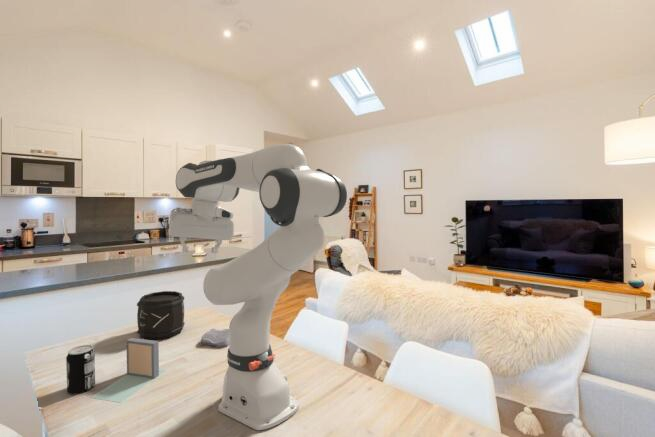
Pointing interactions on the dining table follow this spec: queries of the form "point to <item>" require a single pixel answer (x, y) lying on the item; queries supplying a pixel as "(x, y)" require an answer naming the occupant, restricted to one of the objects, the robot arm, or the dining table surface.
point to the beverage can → (80, 369)
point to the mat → (123, 388)
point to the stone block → (216, 338)
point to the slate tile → (142, 358)
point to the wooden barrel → (160, 315)
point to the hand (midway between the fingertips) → (200, 252)
